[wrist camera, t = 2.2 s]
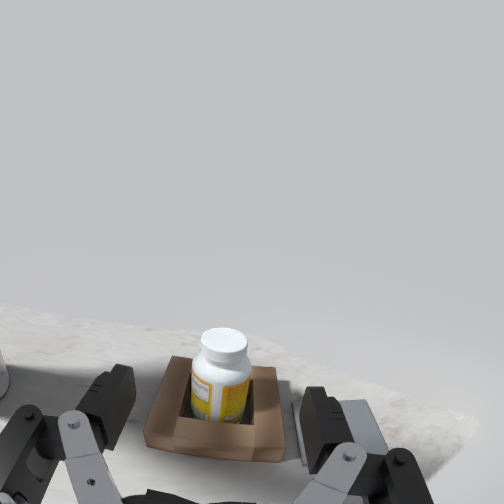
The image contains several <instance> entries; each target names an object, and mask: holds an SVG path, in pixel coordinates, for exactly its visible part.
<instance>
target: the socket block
mask: <svg viewBox="0 0 504 504" xmlns="http://www.w3.org/2000/svg"><path fill="white" fill-rule="evenodd" d="M192 361H193V359H191V358H184V357H178V356H172V357H171V360H170V362H169V364H168V367H167V369H166V372H165V375H164V377H163V380H162V382H161V385H160V387H159V390H158V392H157V395H156V398H155V400H154V403H153V405H152V408H151V411H150V413H149V416H148V419H147V421H146V424H145V427H144V429H143V433H144V437H145V442H146V446H147V447H152V448H156V449H161V450H166V451H171V452H176V453H182V454H188V455H194V456H201V457H208V458H217V459H226V460H238V461H254V462H280V461H281V458H282V456H283V453H284V450H285V448H286V447H285V439H284V431H283V423H282V415H281V407H280V399H279V391H278V383H277V376H276V368H275V367H261V366H251V376H250V381H249V387H248V392H247V396H251V425H244V424H232V423H223V422H214V421H206V420H199V419H192V418H186V417H183V415H184V411H185V407H186V403H187V399H188V395H189V391H190V389H191V386H192Z"/></svg>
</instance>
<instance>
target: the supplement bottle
mask: <svg viewBox="0 0 504 504" xmlns="http://www.w3.org/2000/svg"><path fill="white" fill-rule="evenodd" d="M247 346H248V341H247V338H246V337H245V335H244V334H242V333H241V332H239V331H237V330H234V329H230V328H213V329H209V330H207V331H206V332H204V333H203V335H202V337H201V346H200V351H199V352H198V353H197V354H196V355H195V356H194V358H193V361H192V386H191V412H192V416H193V418H194V419H199V420H206V421H214V422H223V423H232V424H239V423H240V422H241V420H242V418H243V415H244V410H245V404H246V398H247V392H248V387H249V381H250V376H251V363H250V360H249V359H248V357H247V356H246V354H247Z"/></svg>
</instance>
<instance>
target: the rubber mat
mask: <svg viewBox="0 0 504 504" xmlns="http://www.w3.org/2000/svg"><path fill="white" fill-rule="evenodd" d="M338 402H339V403H340V404H341V407H342V409H343V413H344V414H345V417H346V420H347V422H348V425H349V428H350V431H351V433H352V436H353V439H354V441H355V443H356V444H358V445H360V446H362V447H363V448H364V449H365V451H366V452H367V453H371V454H380V455H386V454H387V453H388V452H389V450H388V448H387V446H386V444H385V441H384V439H383V437H382V435H381V432H380V430H379V428H378V426H377V424H376V422H375V419H374V417H373V415H372V413H371V411H370V409H369V406H368V404H367V402H366V400H365V399H364V400H345V401H338ZM301 404H302V401H292V408H293V413H294V419H295V425H296V431H297V437H298V443H299V449H300V455H301V461H302V466H308V463H307V458H306V453H305V448H304V442H303V437H302V432H301V427H300V422H299V412H300V408H301Z"/></svg>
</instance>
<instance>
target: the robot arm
mask: <svg viewBox="0 0 504 504" xmlns="http://www.w3.org/2000/svg"><path fill="white" fill-rule="evenodd" d="M9 381H10V379H9V374H8V371H7V368H6V365H5V362H4V360H3V357H2V354H1V351H0V398H1V397H2V396H3V395H4V394H5V392H6V391H7V388H8V386H9ZM135 400H136V387H135V380H134V373H133V368H132V367H130V366H125V365H121V364H116V365H115V366H114V367H113V369H112V371H111V372H106V371H105V372H104V373H102V374H101V375H99V376H98V377H97V378H96V379H95V381H94V382H93V385H91V387H90V388H89V391H87V393H86V394H85V395H84V397H83V398H82V400H81V401H80V403H79V404H78V406H77V407H76V409H75V410H70V411H66V412H64V413H63V414H61V415H60V417H53V416H45V415H42V412H41V411H40V409H39V408H38V407H36V406H34V405H24V406H21V407H20V408H19V409H18V410H17V411H16V412H15V414H14V415H13V416H12V418H11V419H10V421H9V422H8V423H7V425H6V426H5V428H4V429H3V431H2V432H1V434H0V504H41V501H42V499H43V497H44V494H45V492H46V490H47V487H48V485H49V483H50V480H51V478H52V476H53V474H54V471H55V469H56V467H57V465H58V463H59V461H60V460H62V461H65V464H66V467H67V471H68V474H69V477H70V480H71V483H72V486H73V489H74V492H75V495H76V498H77V500H78V503H79V504H198V503H195V502H192V501H190V500H187V499H184V498H182V497H179V496H176V495H174V494H169V493H164V492H159V491H155V490H150V489H147V492H146V495H133V496H128V497H124V498H122V496H121V495H120V493H119V491H118V489H117V487H116V485H115V483H114V480H113V478H112V476H111V474H110V472H109V469H108V467H107V465H106V462H105V460H104V457H103V455H102V454H103V452H104V449H108V450H111V451H113V450H114V447H115V445H116V443H117V441H118V438H119V436H120V434H121V432H122V429H123V427H124V425H125V423H126V420H127V418H128V416H129V414H130V412H131V410H132V407H133V405H134V403H135ZM299 422H300V427H301V432H302V437H303V442H304V448H305V453H306V458H307V463H308V469H309V474H317V475H316V476H315V478H314V479H312V480H311V481H310V482H309V484H308V485H307V486H306V487H305V489H304V490H303V491H302V492H301V494H300V495H299V496H298V497H297V498H296V500H295V501H294V502H293V503H292V504H342V503H343V502H344V500H345V499H346V497H347V495H355V496H362V498H363V503H364V504H434V503H433V500H432V498H431V495H430V493H429V490H428V488H427V485H426V483H425V480H424V478H423V476H422V473H421V471H420V469H419V466H418V464H417V462H416V459H415V457H414V455H413V454H412V453H411V452H410V451H409V450H407V449H404V448H394V449H391V450H390V451H389V452H388V453H387V454H386V455H380V454H371V453H367V452H366V451H365V449H364V448H363V447H362V446H360V445H358V444H356V443H355V441H354V439H353V436H352V433H351V431H350V428H349V425H348V422H347V420H346V417H345V414H344V413H343V409H342V407H341V404H340V403H339V402H338V401H337V400H336V399H335V398H334V397H327V394H326V392H325V389H324V387H307V388H306V390H305V394H304V397H303V401H302V404H301V408H300V412H299ZM210 504H256V503H246V502H220V503H210Z"/></svg>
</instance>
